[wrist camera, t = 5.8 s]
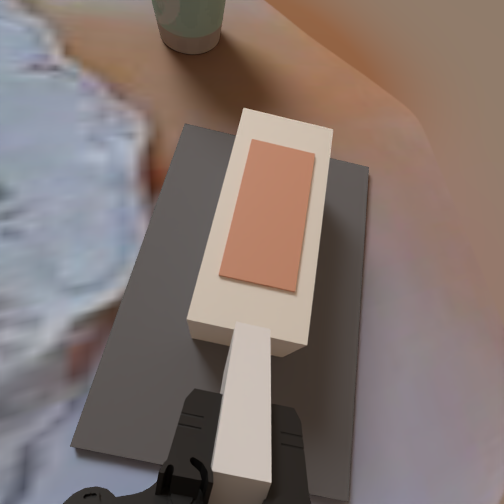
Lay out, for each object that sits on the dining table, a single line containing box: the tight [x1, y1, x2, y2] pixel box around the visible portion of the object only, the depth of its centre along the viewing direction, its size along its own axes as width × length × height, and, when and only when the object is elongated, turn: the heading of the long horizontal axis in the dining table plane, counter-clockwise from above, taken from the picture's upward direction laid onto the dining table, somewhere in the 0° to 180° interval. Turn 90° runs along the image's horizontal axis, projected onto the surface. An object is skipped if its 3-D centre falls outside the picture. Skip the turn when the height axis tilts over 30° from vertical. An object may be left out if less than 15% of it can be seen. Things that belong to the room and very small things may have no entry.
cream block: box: [187, 108, 333, 357], centre depth 22 cm, size 6×6×14 cm
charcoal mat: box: [70, 124, 369, 502], centre depth 24 cm, size 24×16×1 cm, turn 169°
